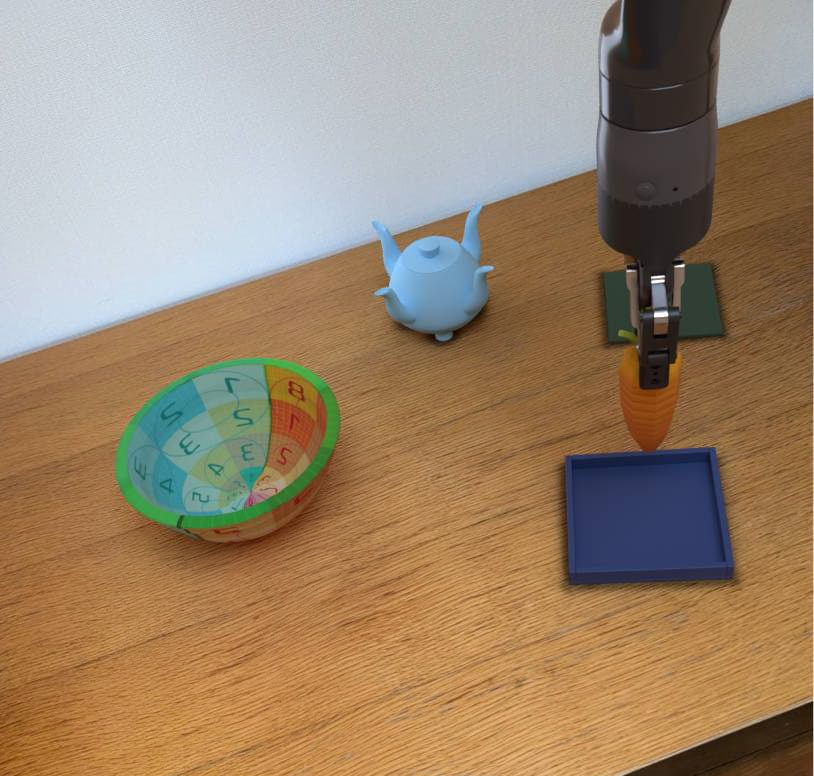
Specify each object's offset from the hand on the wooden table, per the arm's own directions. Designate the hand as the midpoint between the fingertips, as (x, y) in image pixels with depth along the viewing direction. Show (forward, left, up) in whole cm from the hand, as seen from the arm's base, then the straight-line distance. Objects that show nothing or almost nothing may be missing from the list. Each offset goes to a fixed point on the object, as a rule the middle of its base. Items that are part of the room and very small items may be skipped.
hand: (650, 360), depth 77 cm
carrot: (0, 0, -11) cm, 11 cm away
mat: (-4, -31, -20) cm, 37 cm away
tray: (0, 0, -20) cm, 20 cm away
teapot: (+21, -32, -20) cm, 43 cm away
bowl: (+39, -5, -20) cm, 44 cm away
